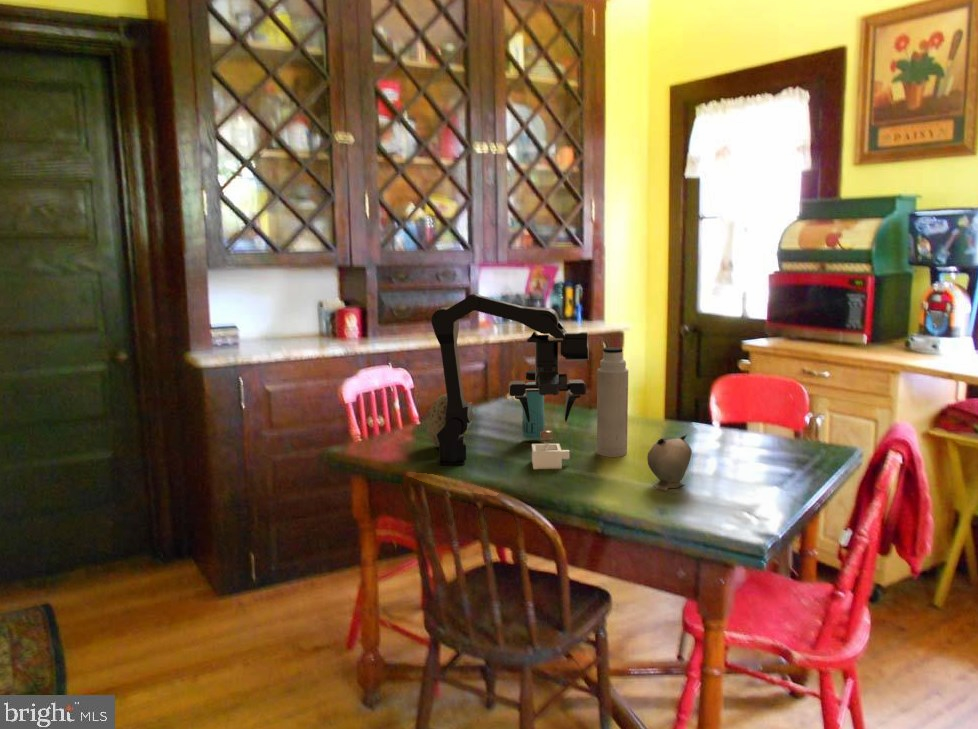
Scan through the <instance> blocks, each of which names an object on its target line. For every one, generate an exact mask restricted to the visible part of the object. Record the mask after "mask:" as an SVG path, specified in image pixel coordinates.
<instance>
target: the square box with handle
mask: <svg viewBox="0 0 978 729" xmlns="http://www.w3.org/2000/svg"><path fill="white" fill-rule="evenodd" d="M563 460H570V450H569V449H562V447H561V444H560V443H548V451H545V443H532V444H531V463H532V468H533V470H561V469H562V468H563V467H562V466H563V464H562V463H563V462H562V461H563Z"/></svg>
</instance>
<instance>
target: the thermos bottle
mask: <svg viewBox="0 0 978 729" xmlns="http://www.w3.org/2000/svg"><path fill="white" fill-rule="evenodd" d="M602 350H603V351H602V352H603V358H602V359H601V360H599V367H598V368H597V370H596V371H597V374H596V375H597V376H596V377H597V379H596V380H597V382H596V384H597V385H596V419H597V420H596V421H597V422H596V454H598V455H600V456H604V457H609V458H610V457H614V458H616V457H623V456H626V455H627V454H628V427H629V426H628V425H629V424H628V422H629V420H628V409H629V407H628V406H629V369H628V368H626V367H627V366H626V365H627V362H626V359H624V358H623V356H624V355H623V348H622V347H616V346H615V347H614V346H609V347H604V348H603V349H602Z"/></svg>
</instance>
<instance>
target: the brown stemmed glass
mask: <svg viewBox="0 0 978 729" xmlns="http://www.w3.org/2000/svg"><path fill="white" fill-rule="evenodd" d="M540 436H541V438H540V440H541V441H544V444H545V451H548V444H549V442H550V441H553V430H551V429H545V430H542V431H540Z"/></svg>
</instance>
